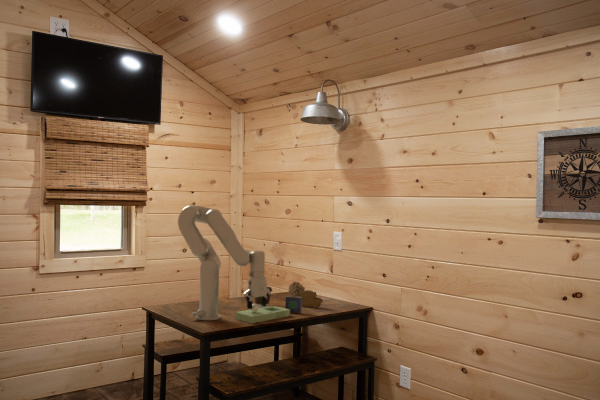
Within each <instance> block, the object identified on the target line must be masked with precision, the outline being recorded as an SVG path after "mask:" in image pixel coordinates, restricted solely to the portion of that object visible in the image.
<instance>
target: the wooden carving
mask: <svg viewBox="0 0 600 400" xmlns="http://www.w3.org/2000/svg"><path fill="white" fill-rule="evenodd" d="M299 296H300V297H302V307H304V308H310V309H311V308H314V307H315V308H320V307H321V305H322V303H323V302H324V300H323V299H322V298H320V297H317V296H318V295H317V293H316V291H313V290H309V289H307V290H304V291H300V293H299Z"/></svg>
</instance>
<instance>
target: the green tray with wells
mask: <svg viewBox="0 0 600 400" xmlns="http://www.w3.org/2000/svg"><path fill="white" fill-rule="evenodd" d="M234 315H235V317H234V318H235V320H238V321H242V322H246V323H248V324H257V323H261V322H262V323H263V322H265V321H271V320H272V321H273V320H276V319H282V318H287V317H291V313H290V310H289V309H285V307H280V306H276V305H268V307H262V308H259V309H258V311H257V312H255V313H253V312H251V311H250V309H246V310H240V311H235V314H234ZM256 322H257V323H256Z"/></svg>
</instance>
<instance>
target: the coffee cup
mask: <svg viewBox="0 0 600 400" xmlns="http://www.w3.org/2000/svg"><path fill="white" fill-rule="evenodd" d="M267 288H268V289H270V292H269V295H268V297H267V299H266V306H261V299H262V296H261V297H254V304H257V305H258V307H259V308H262V307H268V306H270V305H269V304H270V302H271V294H272V293H271V292H273V289H272V287H271V286H267Z"/></svg>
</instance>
